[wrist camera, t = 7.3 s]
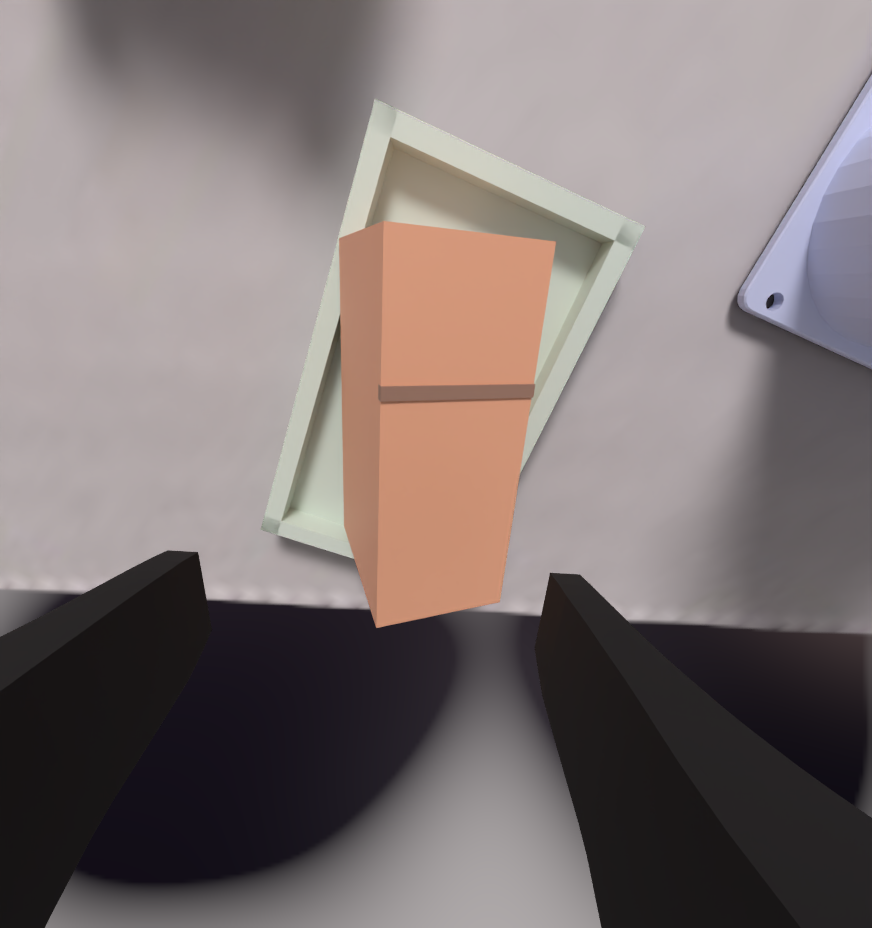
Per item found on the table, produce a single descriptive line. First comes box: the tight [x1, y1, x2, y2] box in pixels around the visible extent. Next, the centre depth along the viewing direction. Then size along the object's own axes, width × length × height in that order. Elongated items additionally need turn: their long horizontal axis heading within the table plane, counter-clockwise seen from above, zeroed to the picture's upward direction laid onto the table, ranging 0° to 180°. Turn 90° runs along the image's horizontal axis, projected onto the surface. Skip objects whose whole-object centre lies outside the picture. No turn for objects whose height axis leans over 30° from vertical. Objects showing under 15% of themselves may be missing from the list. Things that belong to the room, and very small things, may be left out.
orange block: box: [339, 221, 556, 628], centre depth 12 cm, size 4×9×5 cm, turn 177°
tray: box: [261, 99, 645, 559], centre depth 14 cm, size 8×13×2 cm, turn 159°
